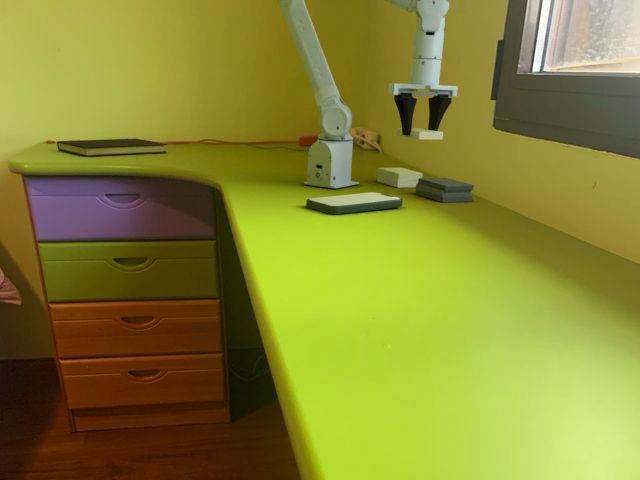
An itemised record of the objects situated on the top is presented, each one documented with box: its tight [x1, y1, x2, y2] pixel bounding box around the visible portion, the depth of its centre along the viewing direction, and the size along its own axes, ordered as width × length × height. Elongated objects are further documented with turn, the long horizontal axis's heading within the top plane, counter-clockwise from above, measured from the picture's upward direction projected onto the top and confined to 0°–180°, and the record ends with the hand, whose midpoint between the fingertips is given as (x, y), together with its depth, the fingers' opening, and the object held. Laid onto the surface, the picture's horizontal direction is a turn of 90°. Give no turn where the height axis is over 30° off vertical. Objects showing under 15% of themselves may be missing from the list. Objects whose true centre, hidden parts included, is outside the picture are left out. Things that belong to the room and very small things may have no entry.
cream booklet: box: [396, 127, 444, 141], centre depth 139 cm, size 9×6×1 cm, turn 23°
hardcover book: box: [56, 138, 167, 158], centre depth 183 cm, size 16×23×2 cm
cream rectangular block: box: [376, 167, 423, 189], centre depth 149 cm, size 9×6×3 cm, turn 24°
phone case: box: [305, 192, 404, 215], centre depth 121 cm, size 9×2×16 cm
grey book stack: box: [415, 177, 475, 203], centre depth 135 cm, size 10×7×3 cm
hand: (419, 135), depth 139 cm, fingers closed on cream booklet, 5 cm apart
